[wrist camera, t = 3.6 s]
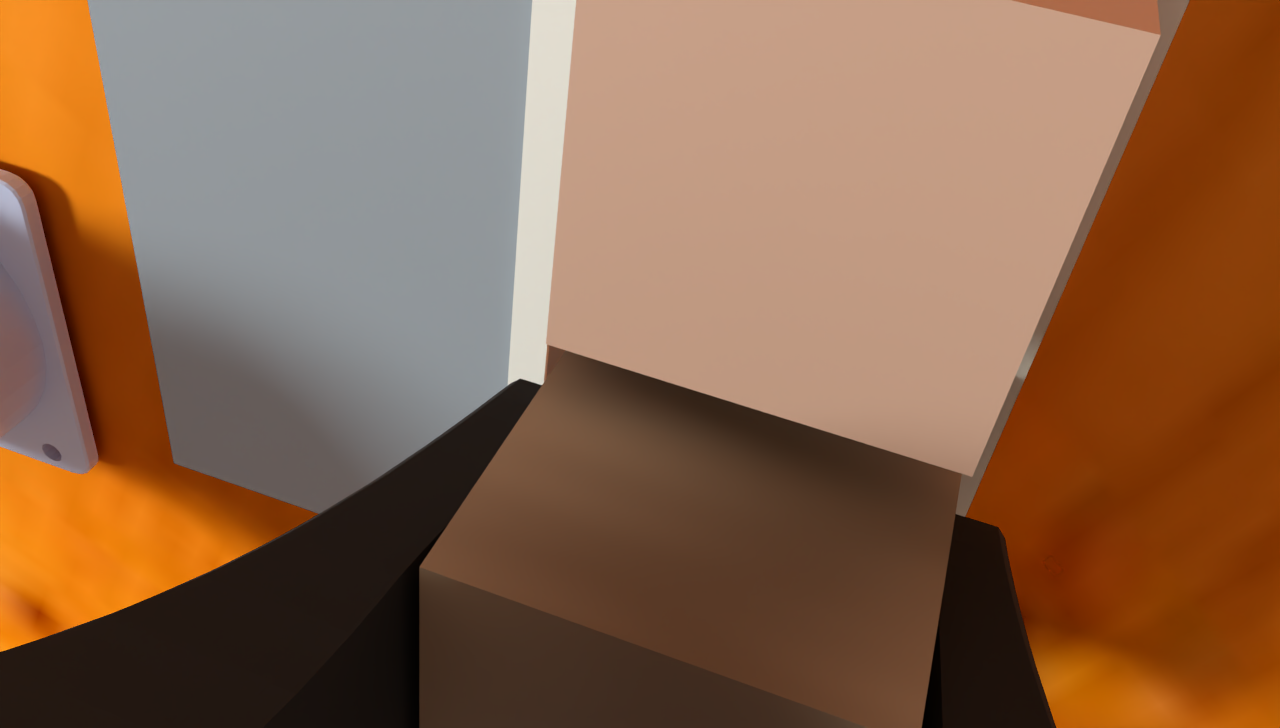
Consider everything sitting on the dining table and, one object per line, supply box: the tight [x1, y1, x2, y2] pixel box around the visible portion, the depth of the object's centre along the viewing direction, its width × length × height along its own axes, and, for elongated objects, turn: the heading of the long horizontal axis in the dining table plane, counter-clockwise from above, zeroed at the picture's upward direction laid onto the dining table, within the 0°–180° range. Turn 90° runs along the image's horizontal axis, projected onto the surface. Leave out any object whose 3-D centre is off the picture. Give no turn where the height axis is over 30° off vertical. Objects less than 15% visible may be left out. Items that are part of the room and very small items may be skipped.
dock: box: [88, 0, 576, 514], centre depth 18 cm, size 8×15×3 cm, turn 173°
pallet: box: [419, 0, 1190, 728], centre depth 12 cm, size 5×13×7 cm, turn 173°
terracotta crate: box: [546, 0, 1161, 477], centre depth 10 cm, size 4×4×2 cm
